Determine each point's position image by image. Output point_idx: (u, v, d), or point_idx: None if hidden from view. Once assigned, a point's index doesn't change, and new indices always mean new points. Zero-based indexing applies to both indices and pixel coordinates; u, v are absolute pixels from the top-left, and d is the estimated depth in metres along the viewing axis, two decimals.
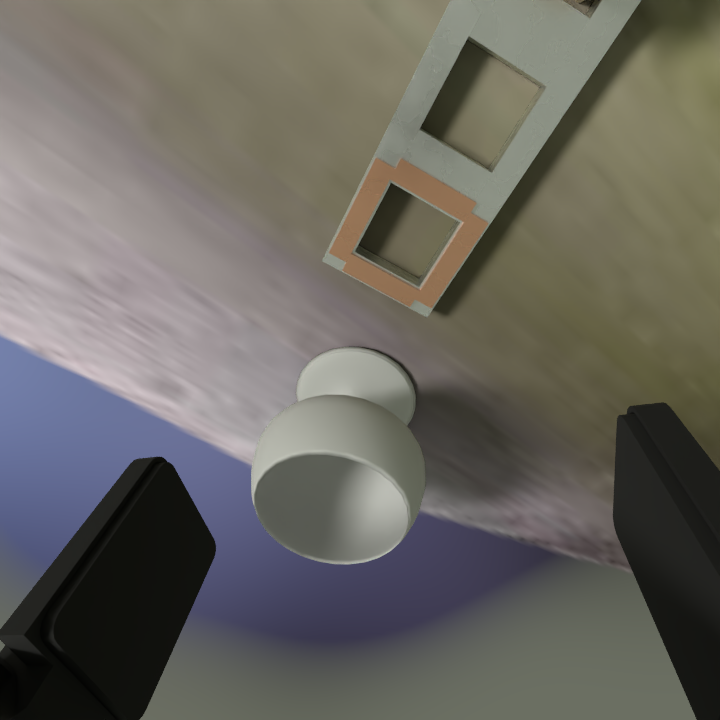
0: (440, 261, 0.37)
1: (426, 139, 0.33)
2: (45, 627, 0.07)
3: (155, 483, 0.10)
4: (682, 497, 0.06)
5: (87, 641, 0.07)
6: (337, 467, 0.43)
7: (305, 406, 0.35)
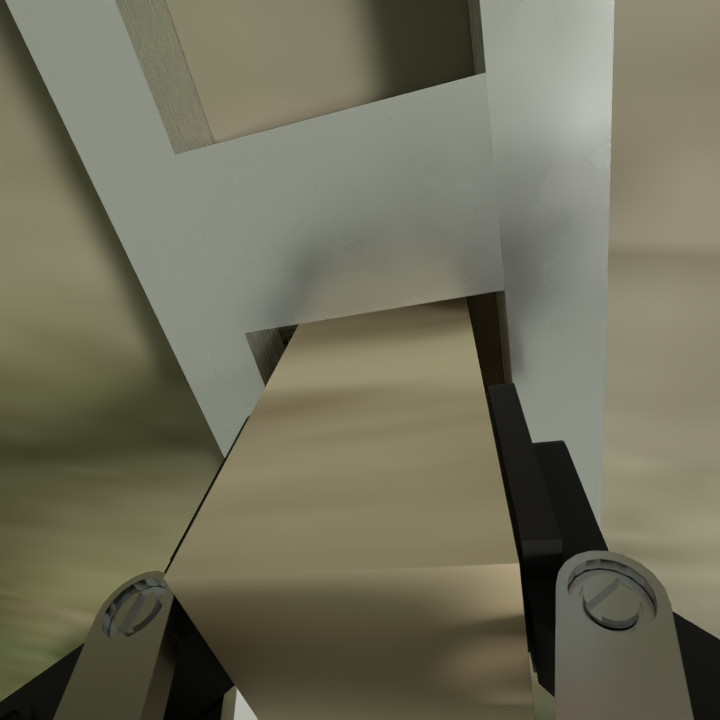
0: None
1: None
2: None
3: None
4: None
5: None
6: None
7: None
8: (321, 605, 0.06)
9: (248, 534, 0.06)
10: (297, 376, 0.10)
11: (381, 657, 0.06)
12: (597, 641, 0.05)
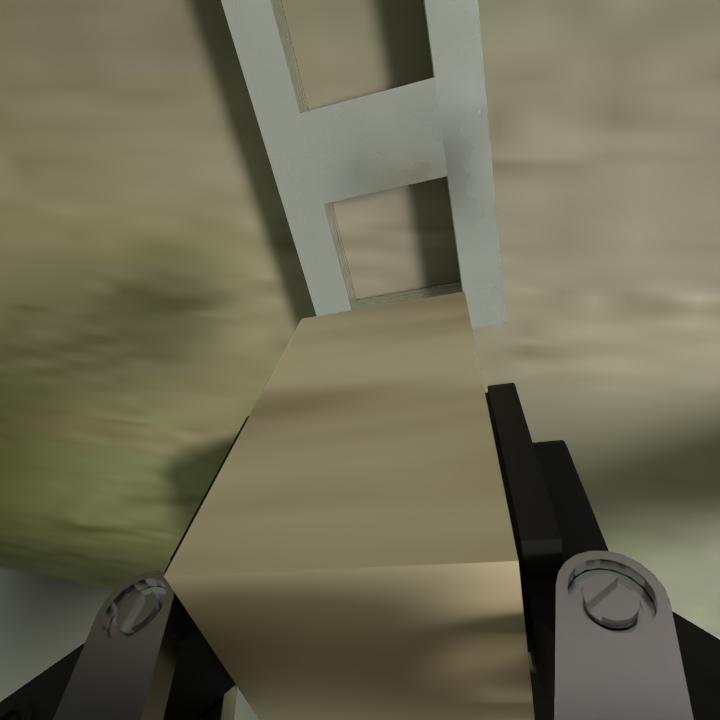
0: None
1: None
2: None
3: None
4: (497, 455, 0.08)
5: None
6: None
7: None
8: (321, 603, 0.06)
9: (248, 532, 0.06)
10: (297, 375, 0.10)
11: (382, 654, 0.06)
12: (597, 641, 0.05)
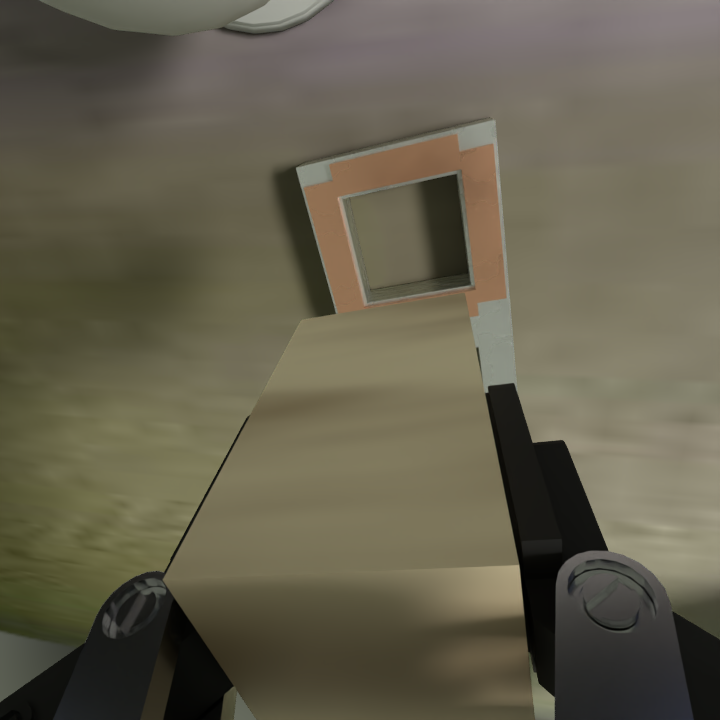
0: (348, 252, 0.26)
1: None
2: None
3: None
4: (497, 455, 0.08)
5: None
6: None
7: None
8: (320, 607, 0.06)
9: (247, 535, 0.06)
10: (297, 376, 0.10)
11: (381, 658, 0.06)
12: (597, 641, 0.05)
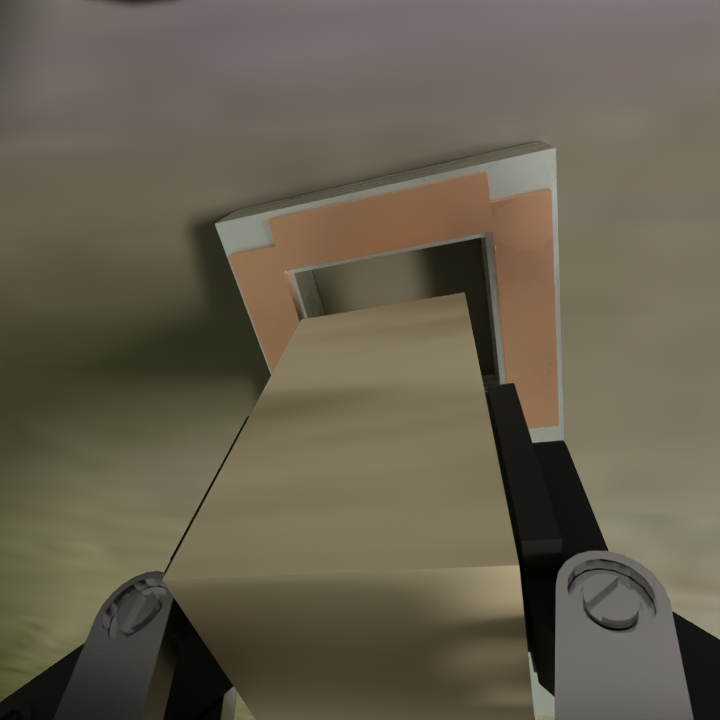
0: None
1: None
2: None
3: None
4: (497, 455, 0.08)
5: None
6: None
7: None
8: (320, 607, 0.06)
9: (247, 534, 0.06)
10: (296, 376, 0.10)
11: (381, 658, 0.06)
12: (597, 641, 0.05)
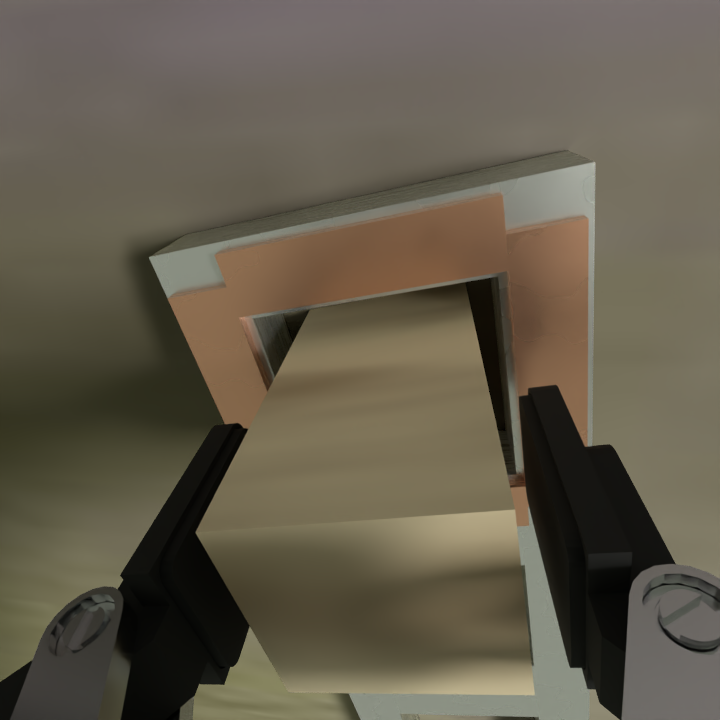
0: None
1: None
2: (164, 568, 0.07)
3: (237, 446, 0.10)
4: (548, 461, 0.07)
5: (195, 585, 0.08)
6: None
7: None
8: (337, 556, 0.07)
9: (270, 494, 0.07)
10: (308, 360, 0.11)
11: (392, 604, 0.07)
12: (673, 659, 0.05)
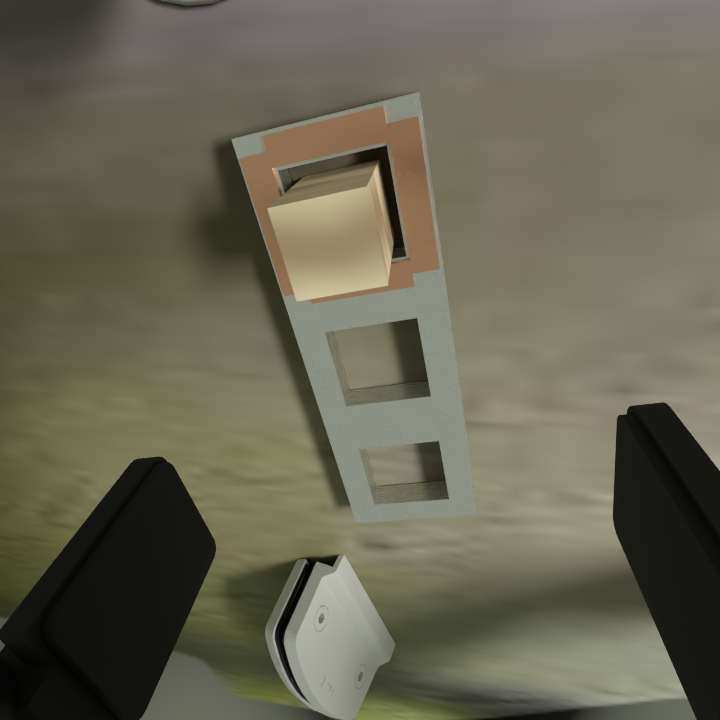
0: None
1: (404, 315, 0.29)
2: (45, 627, 0.07)
3: (155, 483, 0.10)
4: (682, 497, 0.06)
5: (87, 641, 0.07)
6: None
7: None
8: (314, 214, 0.20)
9: (291, 200, 0.21)
10: (304, 184, 0.24)
11: (333, 238, 0.21)
12: None
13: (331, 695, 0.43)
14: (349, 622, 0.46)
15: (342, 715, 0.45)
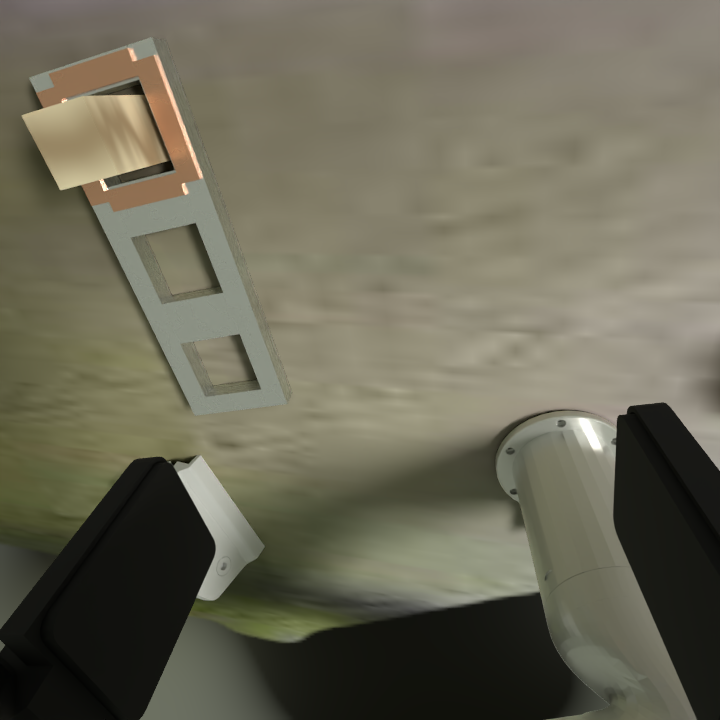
0: None
1: (185, 220, 0.37)
2: (45, 627, 0.07)
3: (155, 483, 0.10)
4: (682, 497, 0.06)
5: (87, 641, 0.07)
6: None
7: None
8: (54, 119, 0.28)
9: None
10: None
11: (71, 137, 0.29)
12: None
13: None
14: (211, 517, 0.54)
15: (200, 593, 0.52)
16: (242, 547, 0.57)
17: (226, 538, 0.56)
